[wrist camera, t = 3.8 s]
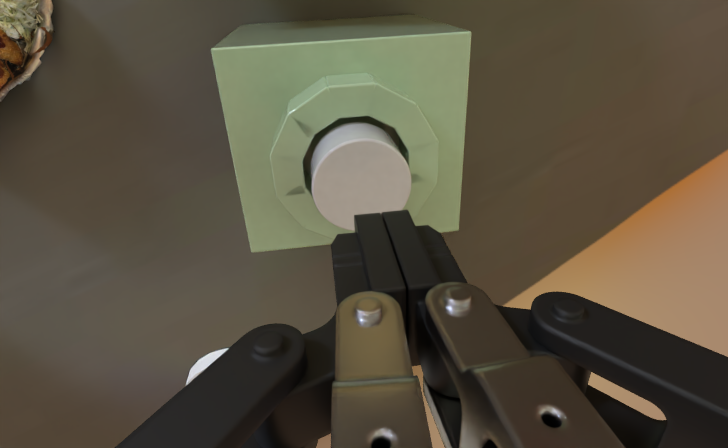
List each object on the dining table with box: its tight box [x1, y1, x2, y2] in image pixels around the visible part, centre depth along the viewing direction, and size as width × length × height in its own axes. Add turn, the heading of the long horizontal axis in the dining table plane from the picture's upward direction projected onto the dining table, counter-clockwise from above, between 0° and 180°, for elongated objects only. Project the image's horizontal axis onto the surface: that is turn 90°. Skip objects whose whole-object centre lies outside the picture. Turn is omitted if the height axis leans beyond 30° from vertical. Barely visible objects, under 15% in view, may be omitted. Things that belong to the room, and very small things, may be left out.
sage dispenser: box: [211, 14, 471, 252], centre depth 23 cm, size 10×9×12 cm
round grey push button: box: [310, 122, 412, 231], centre depth 17 cm, size 4×4×2 cm
